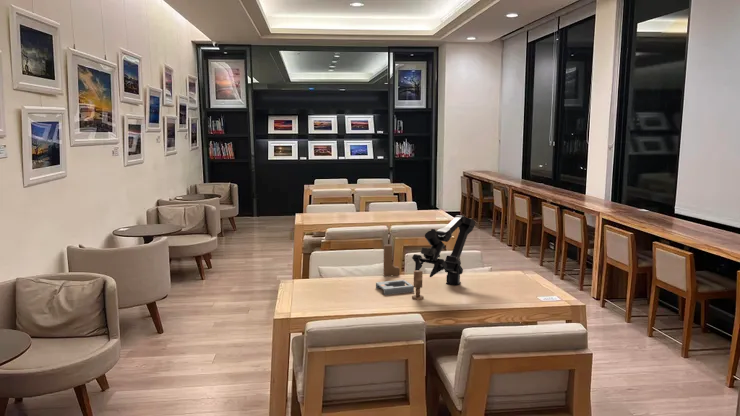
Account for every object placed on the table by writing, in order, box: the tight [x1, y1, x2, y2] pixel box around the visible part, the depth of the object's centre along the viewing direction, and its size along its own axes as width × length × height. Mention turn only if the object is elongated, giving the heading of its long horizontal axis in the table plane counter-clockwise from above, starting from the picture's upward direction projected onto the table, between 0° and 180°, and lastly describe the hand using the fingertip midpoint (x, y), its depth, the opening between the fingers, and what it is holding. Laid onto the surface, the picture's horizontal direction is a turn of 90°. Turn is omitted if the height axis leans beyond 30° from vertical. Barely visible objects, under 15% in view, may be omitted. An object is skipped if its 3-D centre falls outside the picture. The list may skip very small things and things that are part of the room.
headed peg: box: [411, 269, 425, 301], centre depth 273 cm, size 6×6×14 cm
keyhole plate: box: [375, 279, 415, 296], centre depth 288 cm, size 16×13×3 cm
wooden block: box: [383, 243, 401, 277], centre depth 316 cm, size 9×4×18 cm, turn 95°
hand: (422, 275), depth 275 cm, fingers open, 9 cm apart
